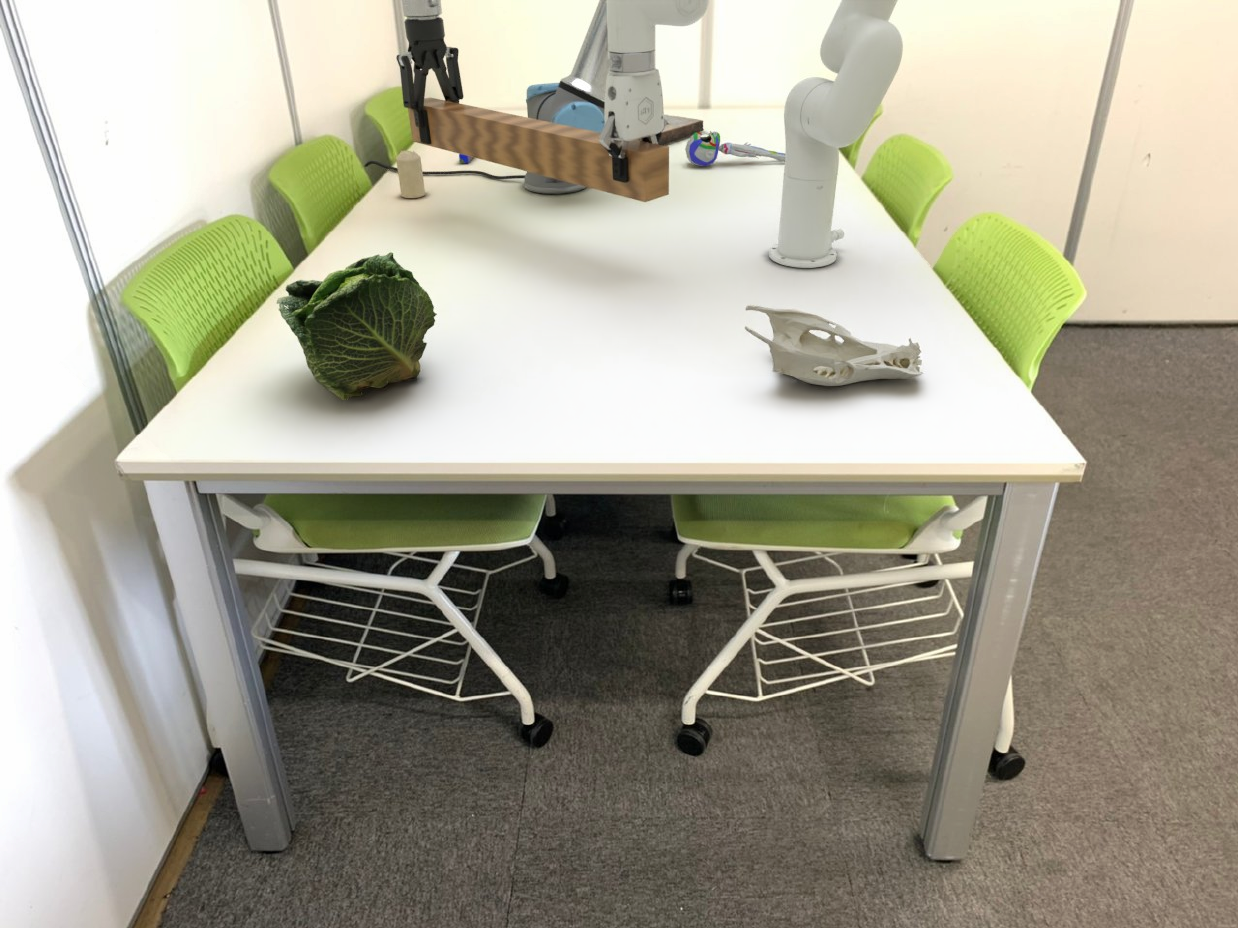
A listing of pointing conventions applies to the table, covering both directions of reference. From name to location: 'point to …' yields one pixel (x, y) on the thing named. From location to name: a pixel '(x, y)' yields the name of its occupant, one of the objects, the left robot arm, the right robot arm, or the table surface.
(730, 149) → the toy
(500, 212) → the table surface
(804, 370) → the anatomical model
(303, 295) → the vegetable
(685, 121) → the plaque
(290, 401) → the table surface
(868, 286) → the table surface
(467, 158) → the grey and blue rod
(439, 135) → the bar
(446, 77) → the left robot arm
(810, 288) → the table surface
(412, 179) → the candle
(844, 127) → the right robot arm
